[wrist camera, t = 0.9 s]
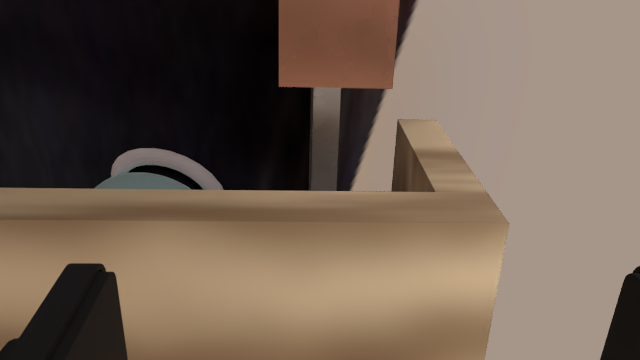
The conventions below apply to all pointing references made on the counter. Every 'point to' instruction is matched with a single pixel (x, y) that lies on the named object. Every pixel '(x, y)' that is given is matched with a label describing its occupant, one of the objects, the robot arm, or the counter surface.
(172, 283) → the oak shelf
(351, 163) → the counter surface
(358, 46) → the orange-brown mallet
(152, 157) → the pacifier
